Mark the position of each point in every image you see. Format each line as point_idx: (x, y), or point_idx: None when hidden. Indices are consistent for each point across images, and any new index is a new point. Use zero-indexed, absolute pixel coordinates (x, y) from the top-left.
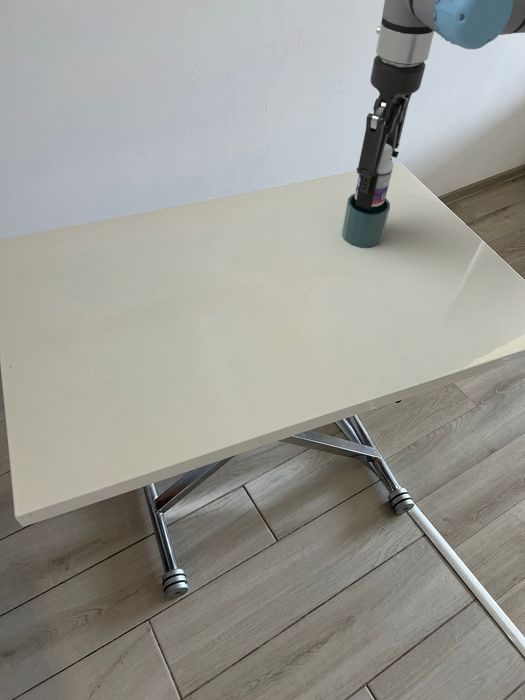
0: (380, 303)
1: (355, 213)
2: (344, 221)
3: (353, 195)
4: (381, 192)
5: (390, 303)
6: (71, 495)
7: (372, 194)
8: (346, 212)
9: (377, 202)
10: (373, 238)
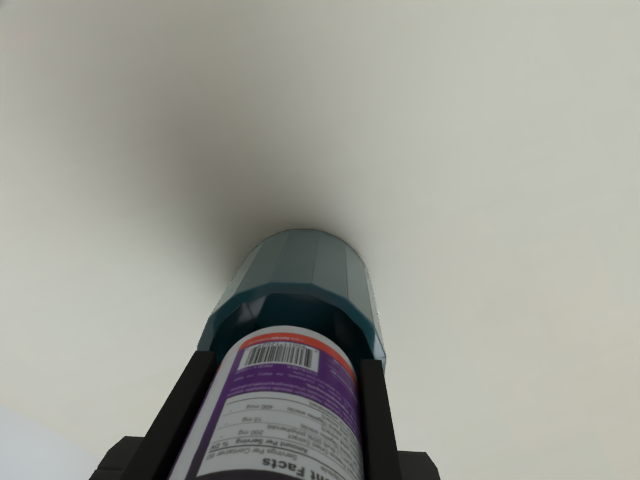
0: (634, 115)
1: None
2: None
3: None
4: (326, 387)
5: (623, 83)
6: None
7: (392, 423)
8: None
9: (336, 355)
10: (350, 257)
